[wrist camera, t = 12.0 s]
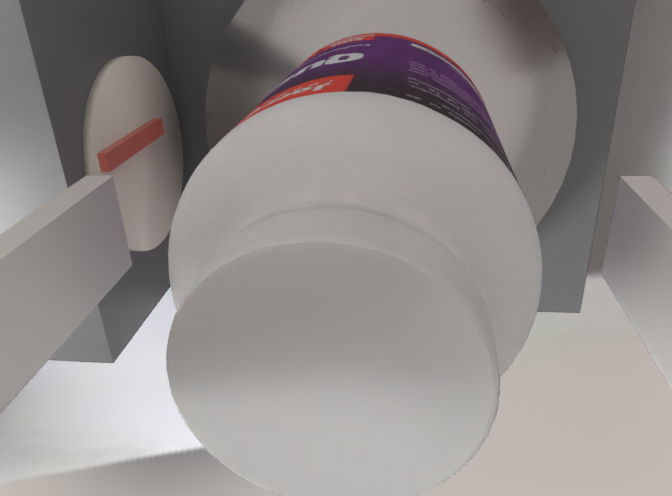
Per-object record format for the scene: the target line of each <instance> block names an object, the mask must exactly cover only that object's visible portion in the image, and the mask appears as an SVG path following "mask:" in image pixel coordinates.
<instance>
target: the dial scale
mask: <svg viewBox="0 0 672 496" xmlns="http://www.w3.org/2000/svg"><path fill="white" fill-rule="evenodd" d="M244 1H245V0H0V234H1V233H3V232H4V231H6V230H7V229H9V228H10V227H12V226H13V225H15V224H16V223H18V222H19V221H20V220H22V219H23V218H25V217H26V216H28V215H29V214H31V213H32V212H34V211H35V210H37V209H38V208H39V207H41V206H42V205H44V204H45V203H47V202H48V201H50V200H51V199H53V198H54V197H56V196H57V195H58V194H60V193H61V192H63V191H64V190H66V189H67V188H69V187H70V186H72V185H73V184H75V183H76V182H77V181H79V180H80V179H82V178H83V177H85V176H113V179H114V183H115V188H116V192H117V197H118V201H119V206H120V210H121V215H122V220H123V224H124V229H125V233H126V238H127V242H128V247H129V251H130V256H131V261H132V266H131V267H130V268H129V270H128V271H127V272H126V273H125V274H124V275H123V276H122V277H121V279H120V280H119V281H118V282H117V283H116V284H115V285H114V286H113V288H112V289H111V290H110V291H109V292H108V293H107V294H106V295H105V297H104V298H103V299H102V300H101V301H100V302H99V303H98V304H97V306H96V307H95V308H94V309H93V310H92V311H91V312H90V313H89V315H88V316H87V317H86V318H85V319H84V320H83V321H82V322H81V324H80V325H79V326H78V327H77V328H76V329H75V330H74V331H73V333H72V334H71V335H70V336H69V337H68V338H67V339H66V340H65V342H64V343H63V344H62V345H61V346H60V347H59V348H58V349H57V351H56V352H55V353H54V354H53V355H52V356H51V357H50V358H49V360H59V361H79V362H99V363H114V362H115V360H116V359H117V357H118V356H119V355H120V353H121V352H122V351H123V349H124V348H125V347H126V345H127V344H128V343H129V341H130V340H131V339H132V337H133V336H134V335H135V333H136V332H137V331H138V329H139V328H140V327H141V325H142V324H143V323H144V321H145V320H146V318H147V317H148V316H149V314H150V313H151V312H152V310H153V309H154V308H155V306H156V305H157V304H158V302H159V301H160V300H161V298H162V297H163V296H164V294H165V293H166V292H167V290H168V289H169V288H170V279H169V265H168V249H169V238H170V231H171V226H172V221H173V217H174V214H175V211H176V208H177V206H178V203H179V200H180V197H181V195H182V193H183V191H184V189H185V187H186V185H187V183H188V181H189V179H190V177H191V176H192V174H193V172H194V171H195V169H196V168H197V167H198V165H199V164H200V163H201V161H202V160H203V159H204V158H205V156H206V155H207V154H208V153H209V147H208V142H207V133H206V120H205V111H206V93H207V87H208V82H209V77H210V71H211V67H212V64H213V61H214V58H215V55H216V52H217V49H218V46H219V44H220V42H221V40H222V38H223V36H224V34H225V32H226V30H227V28H228V25H229V24H230V22H231V21H232V19H233V18H234V16H235V15H236V13H237V12H238V10H239V9H240V7H241V6H242V4H243V3H244ZM538 1H539V2H540V4H541V5H542V6H543V8H544V9H545V10H546V12H547V13H548V14H549V16H550V18H551V20H552V22H553V23H554V25H555V27H556V29H557V31H558V33H559V35H560V36H561V38H562V41H563V44H564V47H565V49H566V52H567V55H568V58H569V60H570V63H571V68H572V73H573V78H574V83H575V88H576V102H577V122H576V135H575V142H574V146H573V151H572V155H571V160H570V164H569V166H568V169H567V172H566V175H565V177H564V180H563V183H562V185H561V187H560V189H559V191H558V193H557V195H556V197H555V199H554V201H553V203H552V205H551V206H550V208H549V209H548V211H547V212H546V214H545V215H544V216H543V218H542V219H541V221H540V222H539V224H538V225H537V226H536V229H537V233H538V237H539V242H540V249H541V257H542V283H541V294H540V299H539V304H538V309H537V312H566V313H580V309H581V304H582V298H583V292H584V287H585V281H586V275H587V270H588V264H589V258H590V253H591V247H592V241H593V236H594V230H595V225H596V219H597V213H598V208H599V202H600V196H601V191H602V185H603V179H604V174H605V168H606V162H607V157H608V151H609V146H610V140H611V134H612V129H613V123H614V117H615V112H616V106H617V100H618V95H619V89H620V83H621V78H622V72H623V66H624V61H625V55H626V50H627V44H628V38H629V33H630V27H631V21H632V16H633V10H634V4H635V0H538Z"/></svg>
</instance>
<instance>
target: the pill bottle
mask: <svg viewBox="0 0 672 496" xmlns="http://www.w3.org/2000/svg"><path fill="white" fill-rule="evenodd" d="M168 265H169V279H170V286H171V290H172V294H173V299H174V303H175V306H176V309H177V312H176V314H175V317H174V320H173V323H172V326H171V329H170V333H169V338H168V344H167V354H166V360H167V374H168V379H169V384H170V388H171V393H172V396H173V398H174V401H175V403H176V405H177V408H178V410H179V413H180V414H181V416H182V418H183V419H184V421H185V423H186V424H187V426H188V428H189V429H190V430H191V432H192V433H193V434H194V435H195V437H196V438H197V439H198V440H199V441H200V443H201V444H202V445H203V446H204V447H205V448H206V449H207V450H208V451H209V452H210V453H211V454H212V455H213V456H214V457H215V458H216V459H218V460H219V461H220V462H221V463H222V464H224V465H225V466H226V467H228V468H229V469H231V470H232V471H233V472H235V473H236V474H238V475H239V476H241V477H242V478H244V479H246V480H248V481H250V482H251V483H253V484H255V485H257V486H259V487H261V488H263V489H266V490H268V491H271V492H273V493H276V494H279V495H281V496H417V495H420V494H422V493H424V492H426V491H428V490H430V489H432V488H434V487H436V486H437V485H440V484H441V483H443V482H445V481H446V480H448V479H449V478H451V477H452V476H453V475H455V474H456V473H457V472H458V471H459V470H461V469H462V468H463V467H464V466H465V465H466V464H467V463H468V462H469V461H470V460H471V459H472V457H473V456H474V455H475V454H476V453H477V452H478V450H479V449H480V447H481V446H482V444H483V442H484V441H485V439H486V438H487V436H488V434H489V432H490V429H491V427H492V424H493V422H494V420H495V417H496V413H497V409H498V402H499V395H500V377H501V375H502V374H503V373H504V372H505V371H506V370H507V368H508V367H509V366H510V365H511V363H512V362H513V360H514V359H515V357H516V356H517V354H518V353H519V351H520V350H521V348H522V346H523V344H524V343H525V341H526V339H527V337H528V335H529V332H530V329H531V327H532V324H533V321H534V319H535V315H536V312H537V309H538V304H539V299H540V294H541V283H542V257H541V249H540V242H539V237H538V233H537V229H536V226H535V222H534V219H533V216H532V213H531V211H530V208H529V206H528V203H527V201H526V198H525V196H524V194H523V191H522V189H521V187H520V185H519V183H518V180H517V178H516V176H515V174H514V172H513V170H512V167H511V165H510V163H509V160H508V158H507V156H506V153H505V151H504V149H503V146H502V144H501V142H500V139H499V137H498V134H497V132H496V130H495V127H494V125H493V123H492V120H491V118H490V116H489V113H488V111H487V108H486V105H485V103H484V101H483V99H482V97H481V94H480V93H479V91H478V89H477V88H476V86H475V84H474V83H473V81H472V79H471V78H470V77H469V76H468V74H467V73H466V72H465V70H464V69H463V68H462V67H461V66H460V65H459V64H458V63H457V62H456V61H455V60H453V59H452V58H451V57H450V56H449V55H448V54H446V53H445V52H443V51H441V50H440V49H438V48H436V47H435V46H433V45H431V44H429V43H427V42H425V41H423V40H420V39H418V38H415V37H412V36H409V35H405V34H400V33H393V32H367V33H360V34H354V35H351V36H347V37H344V38H341V39H339V40H336V41H334V42H332V43H330V44H328V45H326V46H324V47H322V48H321V49H319V50H318V51H316V52H315V53H313V54H312V55H311V56H309V57H308V58H307V59H306V60H305V61H303V62H302V63H301V64H300V65H299V66H298V67H297V68H296V69H295V70H294V71H293V72H292V73H291V74H290V75H289V76H288V77H287V78H286V79H285V80H284V81H283V82H282V83H281V84H280V85H278V86H277V87H276V88H275V89H274V90H273V91H272V92H271V93H270V94H269V95H268V96H266V97H265V99H264V100H263V101H262V102H261V103H260V104H259V105H258V106H257V107H256V108H254V109H253V110H252V111H251V112H250V113H249V114H248V115H247V116H246V117H245V118H244V119H243V120H242V121H241V122H240V123H239V124H238V125H236V126H235V127H234V128H233V129H232V130H231V131H230V132H229V133H228V134H227V135H225V136H224V137H223V138H222V139H221V140H220V141H219V143H218V144H217V145H216V146H215V147H214V148H212V149H211V150H210V152H209V153H208V154H207V155H206V156H205V158H204V159H203V160H202V161H201V163H200V164H199V165H198V167H197V168H196V169H195V171H194V172H193V174H192V176H191V177H190V179H189V181H188V183H187V185H186V187H185V189H184V191H183V193H182V195H181V197H180V200H179V203H178V206H177V208H176V211H175V214H174V217H173V221H172V226H171V231H170V238H169V249H168Z"/></svg>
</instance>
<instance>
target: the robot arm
mask: <svg viewBox="0 0 672 496" xmlns="http://www.w3.org/2000/svg"><path fill="white" fill-rule="evenodd" d="M131 266H132V261H131V256H130V251H129V247H128V242H127V238H126V233H125V229H124V224H123V220H122V215H121V210H120V206H119V201H118V197H117V192H116V188H115V183H114V179H113V176H85V177H83V178H82V179H80V180H79V181H77V182H76V183H75V184H73V185H72V186H70V187H69V188H67V189H66V190H64V191H63V192H61V193H60V194H58V195H57V196H56V197H54V198H53V199H51V200H50V201H48V202H47V203H45V204H44V205H42V206H41V207H39V208H38V209H37V210H35V211H34V212H32V213H31V214H29V215H28V216H26V217H25V218H23V219H22V220H20V221H19V222H18V223H16V224H15V225H13V226H12V227H10V228H9V229H7V230H6V231H4V232H3V233H1V234H0V414H1V413H2V411H3V410H4V409H5V408H6V407H7V406H8V405H9V404H10V402H11V401H12V400H13V399H14V398H15V397H16V396H17V395H18V393H19V392H20V391H21V390H22V389H23V388H24V387H25V386H26V384H27V383H28V382H29V381H30V380H31V379H32V378H33V377H34V375H35V374H36V373H37V372H38V371H39V370H40V369H41V367H42V366H43V365H44V364H45V363H46V362H47V361H48V360H49V358H50V357H51V356H52V355H53V354H54V353H55V352H56V351H57V349H58V348H59V347H60V346H61V345H62V344H63V343H64V342H65V340H66V339H67V338H68V337H69V336H70V335H71V334H72V333H73V331H74V330H75V329H76V328H77V327H78V326H79V325H80V324H81V322H82V321H83V320H84V319H85V318H86V317H87V316H88V315H89V313H90V312H91V311H92V310H93V309H94V308H95V307H96V306H97V304H98V303H99V302H100V301H101V300H102V299H103V298H104V297H105V295H106V294H107V293H108V292H109V291H110V290H111V289H112V288H113V286H114V285H115V284H116V283H117V282H118V281H119V280H120V279H121V277H122V276H123V275H124V274H125V273H126V272H127V271H128V270H129V268H130V267H131ZM601 274H602V276H603V278H604V279H605V281H606V283H607V284H608V286H609V287H610V289H611V291H612V292H613V294H614V296H615V297H616V299H617V301H618V302H619V304H620V305H621V307H622V309H623V310H624V312H625V314H626V315H627V317H628V319H629V320H630V322H631V323H632V325H633V327H634V328H635V330H636V332H637V333H638V335H639V337H640V338H641V340H642V341H643V343H644V344H645V346H646V348H647V350H648V351H649V353H650V354H651V356H652V358H653V359H654V361H655V363H656V364H657V366H658V367H659V369H660V371H661V373H662V374H663V376H664V377H665V379H666V381H667V382H668V384H669V386H670V387H671V389H672V193H671V192H670V191H669V190H668V189H667V188H666V187H665V186H663V185H662V184H661V183H660V182H659V181H658V180H657V179H656V178H655V177H653V176H620V178H619V183H618V189H617V194H616V199H615V204H614V210H613V215H612V220H611V226H610V231H609V236H608V241H607V247H606V252H605V257H604V263H603V268H602V273H601Z"/></svg>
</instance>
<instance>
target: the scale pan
mask: <svg viewBox="0 0 672 496" xmlns="http://www.w3.org/2000/svg"><path fill="white" fill-rule="evenodd" d="M367 32H393V33H400V34H405V35H409V36H412V37H415V38H418V39H420V40H423V41H425V42H427V43H429V44H431V45H433V46H435V47H436V48H438V49H440V50H441V51H443V52H445V53H446V54H448V55H449V56H450V57H451V58H452V59H453V60H455V61H456V62H457V63H458V64H459V65H460V66H461V67H462V68H463V69H464V70H465V72H466V73H467V74H468V76H469V77H470V78H471V79H472V81H473V83H474V84H475V86H476V88H477V89H478V91H479V93H480V94H481V97H482V99H483V101H484V103H485V105H486V108H487V111H488V113H489V116H490V118H491V120H492V123H493V125H494V127H495V130H496V132H497V134H498V137H499V139H500V142H501V144H502V146H503V149H504V151H505V153H506V156H507V158H508V160H509V163H510V165H511V167H512V170H513V172H514V174H515V176H516V178H517V180H518V183H519V185H520V187H521V189H522V191H523V194H524V196H525V198H526V201H527V203H528V206H529V208H530V211H531V213H532V216H533V219H534V222H535V226H537V225H538V224H539V222H540V221H541V219H542V218H543V216H544V215H545V214H546V212H547V211H548V209H549V208H550V206H551V205H552V203H553V201H554V199H555V197H556V195H557V193H558V191H559V189H560V187H561V185H562V183H563V180H564V177H565V175H566V172H567V169H568V166H569V164H570V160H571V155H572V151H573V146H574V142H575V135H576V122H577V102H576V88H575V83H574V78H573V73H572V68H571V63H570V60H569V58H568V55H567V52H566V49H565V47H564V44H563V41H562V38H561V36H560V35H559V33H558V31H557V29H556V27H555V25H554V23H553V22H552V20H551V18H550V16H549V14H548V13H547V12H546V10H545V9H544V8H543V6H542V5H541V4H540V2H539V1H538V0H245V1H244V3H243V4H242V6H241V7H240V9H239V10H238V12H237V13H236V15H235V16H234V18H233V19H232V21H231V22H230V24H229V25H228V28H227V30H226V32H225V34H224V36H223V38H222V40H221V42H220V44H219V46H218V49H217V52H216V55H215V58H214V61H213V64H212V67H211V71H210V77H209V82H208V87H207V93H206V111H205V120H206V133H207V142H208V147H209V152H210V150H211V149H212V148H214V147H215V146H216V145H217V144H218V143H219V141H220V140H221V139H222V138H223V137H224V136H225V135H227V134H228V133H229V132H230V131H231V130H232V129H233V128H234V127H235V126H236V125H238V124H239V123H240V122H241V121H242V120H243V119H244V118H245V117H246V116H247V115H248V114H249V113H250V112H251V111H252V110H253V109H254V108H256V107H257V106H258V105H259V104H260V103H261V102H262V101H263V100H264V99H265V97H266V96H268V95H269V94H270V93H271V92H272V91H273V90H274V89H275V88H276V87H277V86H278V85H280V84H281V83H282V82H283V81H284V80H285V79H286V78H287V77H288V76H289V75H290V74H291V73H292V72H293V71H294V70H295V69H296V68H297V67H298V66H299V65H300V64H301V63H302V62H303V61H305V60H306V59H307V58H308V57H309V56H311V55H312V54H313V53H315V52H316V51H318V50H319V49H321V48H322V47H324V46H326V45H328V44H330V43H332V42H334V41H336V40H339V39H341V38H344V37H347V36H351V35H354V34H360V33H367Z"/></svg>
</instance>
